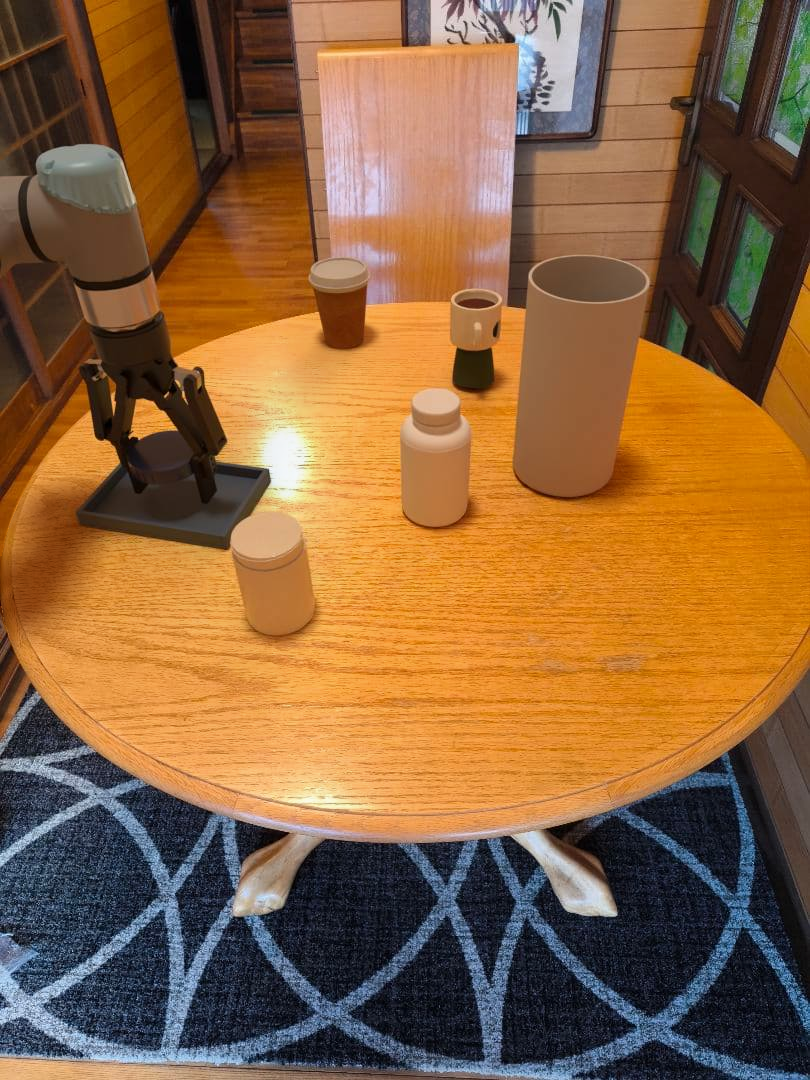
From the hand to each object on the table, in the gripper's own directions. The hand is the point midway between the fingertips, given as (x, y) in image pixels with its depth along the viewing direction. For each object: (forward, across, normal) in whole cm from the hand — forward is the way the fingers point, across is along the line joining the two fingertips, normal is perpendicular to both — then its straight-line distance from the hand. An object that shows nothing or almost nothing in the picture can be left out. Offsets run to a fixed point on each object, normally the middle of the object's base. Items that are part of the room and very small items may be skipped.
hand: (176, 491), depth 93 cm
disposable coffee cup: (+2, -7, -45) cm, 46 cm away
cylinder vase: (+2, -45, -17) cm, 48 cm away
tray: (+2, 0, 0) cm, 2 cm away
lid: (-6, 0, 0) cm, 6 cm away
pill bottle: (+2, -31, -6) cm, 32 cm away
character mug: (+2, -30, -36) cm, 47 cm away
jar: (+2, -19, +14) cm, 24 cm away
